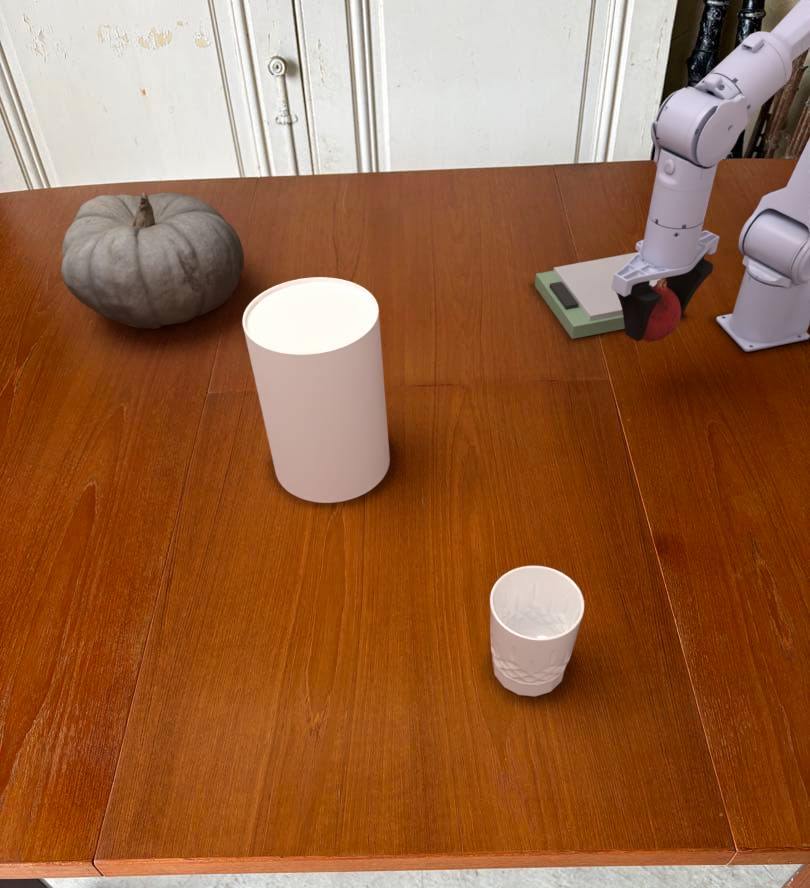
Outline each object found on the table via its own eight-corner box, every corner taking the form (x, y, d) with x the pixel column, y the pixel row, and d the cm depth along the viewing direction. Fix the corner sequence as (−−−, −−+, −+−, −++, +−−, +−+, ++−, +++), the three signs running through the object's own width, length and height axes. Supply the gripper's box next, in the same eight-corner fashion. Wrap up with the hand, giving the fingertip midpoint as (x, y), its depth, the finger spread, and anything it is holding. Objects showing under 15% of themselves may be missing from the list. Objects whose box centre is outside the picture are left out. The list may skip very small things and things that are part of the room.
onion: (674, 357, 95) (689, 296, 89) (623, 353, 96) (635, 293, 90) (673, 328, 99) (687, 269, 93) (624, 325, 100) (635, 265, 94)
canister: (301, 518, 90) (271, 370, 75) (258, 447, 98) (223, 301, 83) (409, 476, 94) (402, 327, 79) (359, 410, 102) (344, 264, 87)
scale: (635, 267, 121) (638, 249, 119) (680, 317, 112) (684, 300, 110) (534, 286, 119) (536, 268, 117) (572, 339, 110) (574, 321, 108)
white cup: (480, 635, 79) (483, 569, 71) (561, 627, 79) (572, 561, 71) (493, 706, 73) (498, 644, 66) (579, 698, 74) (594, 635, 66)
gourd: (121, 366, 105) (79, 229, 95) (51, 317, 121) (8, 195, 111) (282, 309, 117) (261, 182, 107) (199, 271, 133) (173, 157, 123)
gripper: (694, 182, 90) (669, 290, 101) (599, 223, 85) (583, 333, 96) (745, 205, 87) (714, 315, 97) (649, 250, 81) (627, 362, 92)
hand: (652, 326), depth 96 cm, fingers closed on onion, 6 cm apart
